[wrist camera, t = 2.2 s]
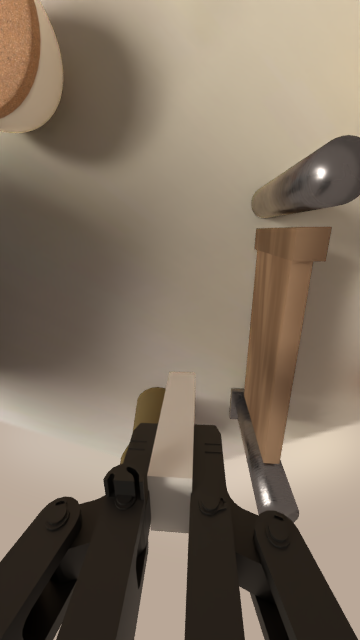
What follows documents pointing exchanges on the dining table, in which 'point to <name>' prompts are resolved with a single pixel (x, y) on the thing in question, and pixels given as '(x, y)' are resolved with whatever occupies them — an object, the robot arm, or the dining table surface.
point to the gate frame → (276, 200)
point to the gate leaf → (278, 326)
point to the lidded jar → (27, 66)
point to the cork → (148, 408)
